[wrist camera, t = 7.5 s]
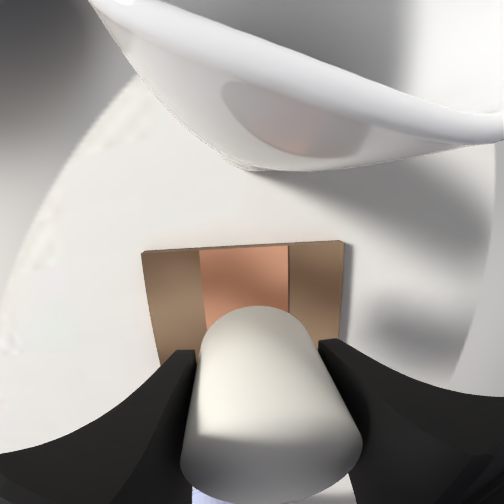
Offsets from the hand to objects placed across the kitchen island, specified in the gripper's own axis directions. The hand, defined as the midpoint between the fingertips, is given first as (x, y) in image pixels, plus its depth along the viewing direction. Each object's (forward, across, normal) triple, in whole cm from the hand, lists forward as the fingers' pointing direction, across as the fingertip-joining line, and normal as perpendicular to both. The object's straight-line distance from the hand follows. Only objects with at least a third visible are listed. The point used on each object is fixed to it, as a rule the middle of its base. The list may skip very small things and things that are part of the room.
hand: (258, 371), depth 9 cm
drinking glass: (+9, -1, -9) cm, 13 cm away
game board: (+9, 0, +6) cm, 11 cm away
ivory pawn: (+1, 0, 0) cm, 1 cm away
